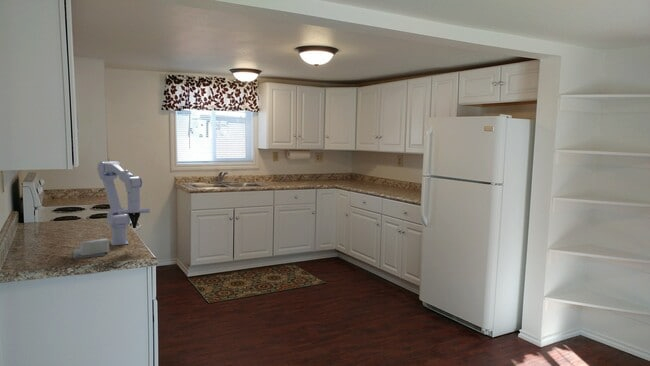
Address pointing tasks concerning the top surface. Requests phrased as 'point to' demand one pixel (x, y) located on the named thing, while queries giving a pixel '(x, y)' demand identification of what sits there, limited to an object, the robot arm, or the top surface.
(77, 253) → the mat
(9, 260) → the top surface
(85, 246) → the skincare box
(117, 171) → the robot arm
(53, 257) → the top surface
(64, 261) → the top surface
